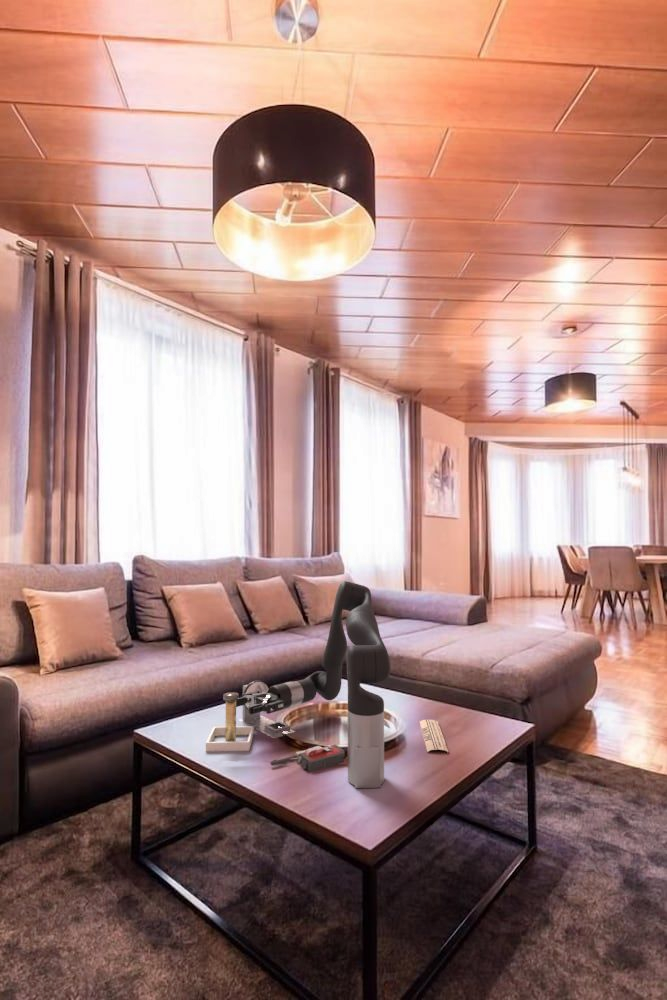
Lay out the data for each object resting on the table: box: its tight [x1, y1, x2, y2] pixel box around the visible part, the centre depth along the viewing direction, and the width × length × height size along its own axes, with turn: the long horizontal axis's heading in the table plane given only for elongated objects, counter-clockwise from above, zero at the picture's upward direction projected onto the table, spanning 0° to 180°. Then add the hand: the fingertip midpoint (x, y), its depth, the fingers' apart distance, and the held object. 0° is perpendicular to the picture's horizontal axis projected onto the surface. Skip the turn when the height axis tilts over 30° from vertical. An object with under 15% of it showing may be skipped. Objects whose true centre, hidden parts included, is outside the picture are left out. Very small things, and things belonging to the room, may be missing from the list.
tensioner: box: [238, 679, 297, 739], centre depth 168 cm, size 20×10×14 cm, turn 41°
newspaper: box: [419, 719, 450, 754], centre depth 162 cm, size 24×7×2 cm, turn 176°
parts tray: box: [205, 725, 255, 752], centre depth 155 cm, size 12×12×4 cm
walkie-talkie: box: [270, 744, 346, 772], centre depth 144 cm, size 9×4×20 cm
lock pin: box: [222, 691, 240, 742], centre depth 155 cm, size 4×4×14 cm
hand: (241, 706), depth 157 cm, fingers open, 8 cm apart
